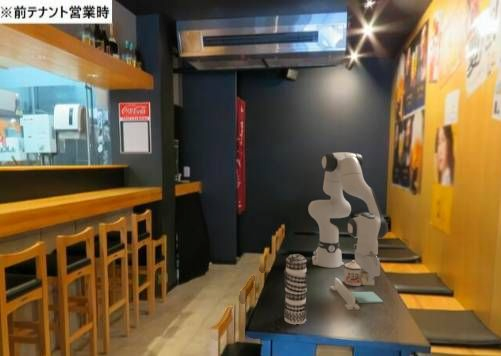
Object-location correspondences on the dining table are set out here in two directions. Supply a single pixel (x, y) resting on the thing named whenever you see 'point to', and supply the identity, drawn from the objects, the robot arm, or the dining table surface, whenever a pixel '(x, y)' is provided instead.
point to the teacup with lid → (352, 274)
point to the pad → (366, 297)
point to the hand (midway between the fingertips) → (366, 279)
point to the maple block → (365, 278)
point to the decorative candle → (295, 289)
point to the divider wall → (345, 295)
